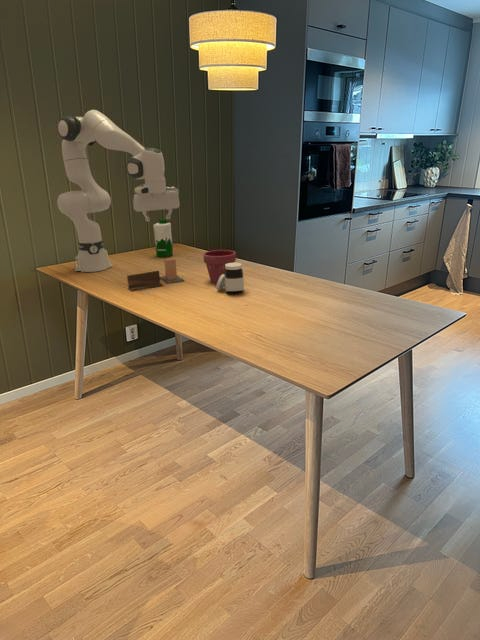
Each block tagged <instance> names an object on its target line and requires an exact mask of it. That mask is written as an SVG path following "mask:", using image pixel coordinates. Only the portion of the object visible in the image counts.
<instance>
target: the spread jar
mask: <svg viewBox="0 0 480 640" xmlns="http://www.w3.org/2000/svg"><path fill="white" fill-rule="evenodd" d="M215 287H216V290H218V291H221V290H223V288H224V291H225V293H226V294H228V295H240V294H243V293H244V290H245V287H244V271H243V264H242V262H234V263H227V264H225V275H224V274H222V275H221V276H220V278H219V279H218V282H217V283H216V286H215Z"/></svg>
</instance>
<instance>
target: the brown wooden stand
mask: <svg viewBox="0 0 480 640" xmlns="http://www.w3.org/2000/svg"><path fill="white" fill-rule="evenodd" d="M160 277H161V276H160V271H159V270H155V271H149V272H148V271H147V272H141V273H136V274H135V273H134V274H129V275H128V274H127V275H126V278H127V279H126V280H127V287H128V288H127V289H128V290H129V291H130V292H137V291H143V290H148V289H154V288H159V287H164V284H163V283H161V279H160Z"/></svg>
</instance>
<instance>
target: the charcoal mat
mask: <svg viewBox="0 0 480 640" xmlns="http://www.w3.org/2000/svg"><path fill="white" fill-rule="evenodd" d="M160 281H162V282H163V283H164V282H165V284H167V285H171V284H176V283H180V282H181V283H182V282H185V279H184V278H183V277H180V276H179V275H177V279H172V280H168V279H166V275H163V276H160Z"/></svg>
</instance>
